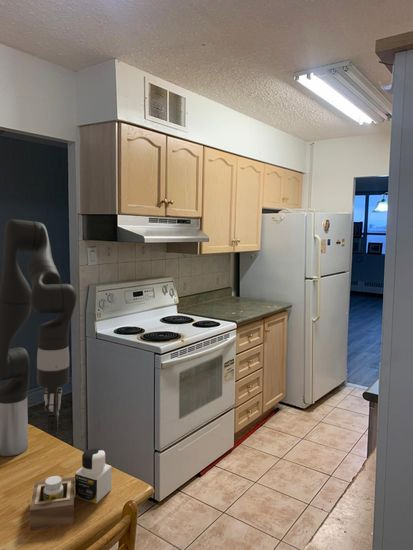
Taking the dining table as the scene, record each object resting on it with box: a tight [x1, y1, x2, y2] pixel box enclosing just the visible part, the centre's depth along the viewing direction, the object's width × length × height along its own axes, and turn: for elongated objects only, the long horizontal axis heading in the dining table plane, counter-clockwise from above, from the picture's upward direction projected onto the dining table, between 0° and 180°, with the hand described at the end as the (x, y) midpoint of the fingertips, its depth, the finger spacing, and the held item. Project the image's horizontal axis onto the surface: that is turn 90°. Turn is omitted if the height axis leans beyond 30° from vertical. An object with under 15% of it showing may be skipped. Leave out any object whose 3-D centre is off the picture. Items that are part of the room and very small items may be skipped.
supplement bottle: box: [43, 475, 63, 501], centre depth 109 cm, size 5×5×8 cm
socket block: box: [29, 476, 76, 531], centre depth 109 cm, size 12×10×5 cm
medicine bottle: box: [74, 447, 113, 504], centre depth 117 cm, size 7×7×12 cm
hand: (52, 431), depth 107 cm, fingers closed
